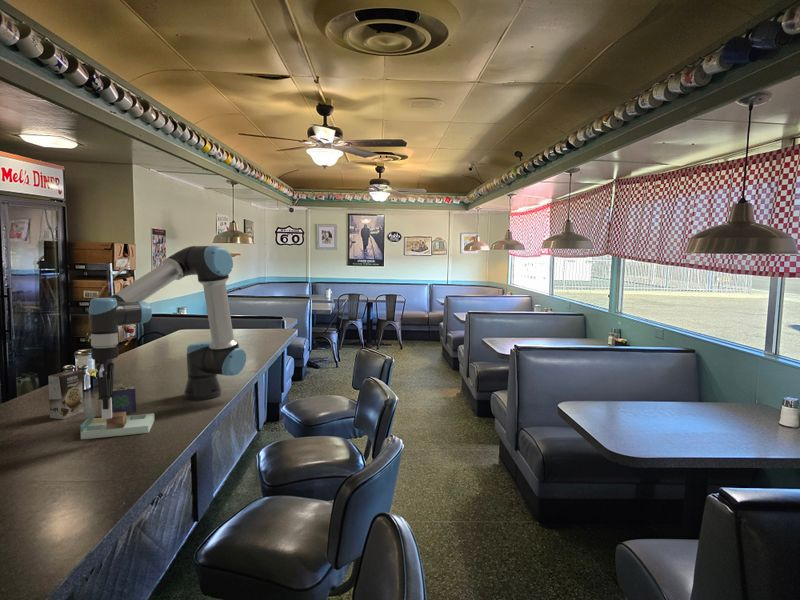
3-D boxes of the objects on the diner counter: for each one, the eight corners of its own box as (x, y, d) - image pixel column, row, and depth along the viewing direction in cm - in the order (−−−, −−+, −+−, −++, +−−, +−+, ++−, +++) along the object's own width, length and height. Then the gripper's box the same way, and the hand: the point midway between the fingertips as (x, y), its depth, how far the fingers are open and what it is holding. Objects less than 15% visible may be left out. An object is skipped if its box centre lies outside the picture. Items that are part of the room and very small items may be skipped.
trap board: (154, 419, 182) (154, 408, 182) (148, 432, 169) (147, 420, 169) (92, 425, 176) (91, 413, 175) (80, 439, 163) (80, 426, 162)
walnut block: (126, 422, 171) (126, 411, 171) (123, 427, 167) (123, 416, 166) (110, 424, 170) (109, 412, 170) (106, 429, 165) (106, 417, 165)
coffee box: (64, 419, 182) (61, 376, 181) (49, 418, 183) (47, 375, 182) (84, 412, 191) (82, 370, 189) (70, 410, 192) (68, 370, 191)
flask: (106, 416, 186) (105, 386, 185) (106, 414, 188) (105, 384, 187) (136, 412, 191) (135, 383, 190) (136, 410, 193) (135, 381, 192)
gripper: (96, 343, 164) (99, 413, 166) (85, 350, 152) (88, 425, 153) (122, 342, 166) (124, 411, 168) (113, 349, 154) (115, 423, 156)
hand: (107, 417), depth 161 cm, fingers closed
